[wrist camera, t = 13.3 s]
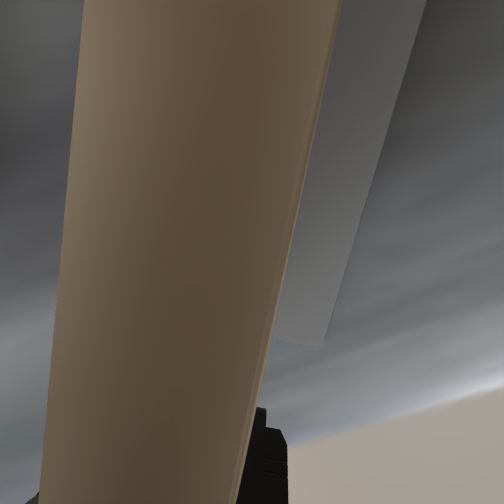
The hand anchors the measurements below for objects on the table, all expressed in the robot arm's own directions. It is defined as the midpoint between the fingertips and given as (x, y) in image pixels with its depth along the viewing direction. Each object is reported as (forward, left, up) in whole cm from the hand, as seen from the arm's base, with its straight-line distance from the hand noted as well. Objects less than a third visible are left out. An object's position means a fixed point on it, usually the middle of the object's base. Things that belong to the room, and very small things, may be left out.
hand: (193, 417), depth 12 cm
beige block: (0, +3, +2) cm, 4 cm away
